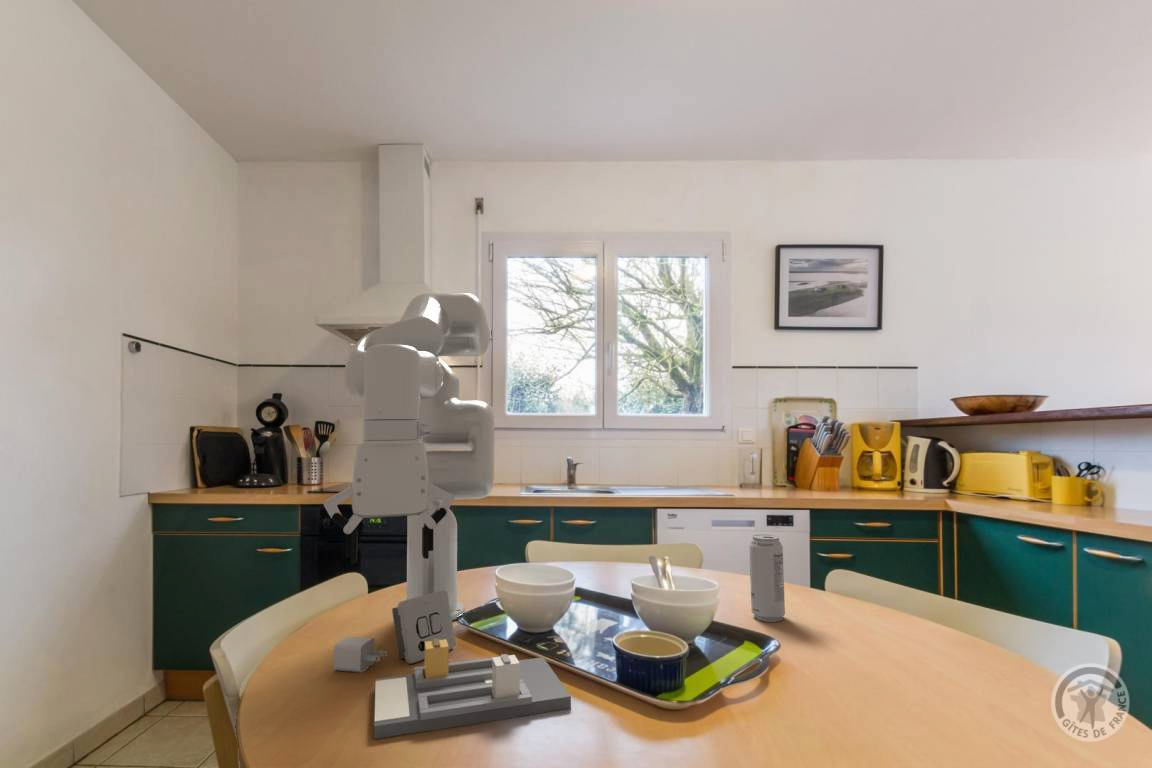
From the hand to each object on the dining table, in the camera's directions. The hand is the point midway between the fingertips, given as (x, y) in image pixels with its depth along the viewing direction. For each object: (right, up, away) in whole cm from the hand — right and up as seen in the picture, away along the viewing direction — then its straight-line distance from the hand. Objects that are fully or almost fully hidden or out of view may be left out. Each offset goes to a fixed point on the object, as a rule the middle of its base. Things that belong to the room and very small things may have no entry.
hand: (390, 559), depth 83 cm
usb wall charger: (-7, -19, +9) cm, 22 cm away
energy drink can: (+62, -20, +31) cm, 72 cm away
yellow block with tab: (+6, -17, +1) cm, 18 cm away
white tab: (+16, -16, -5) cm, 24 cm away
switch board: (+11, -18, -2) cm, 21 cm away
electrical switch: (+1, -20, +14) cm, 24 cm away
